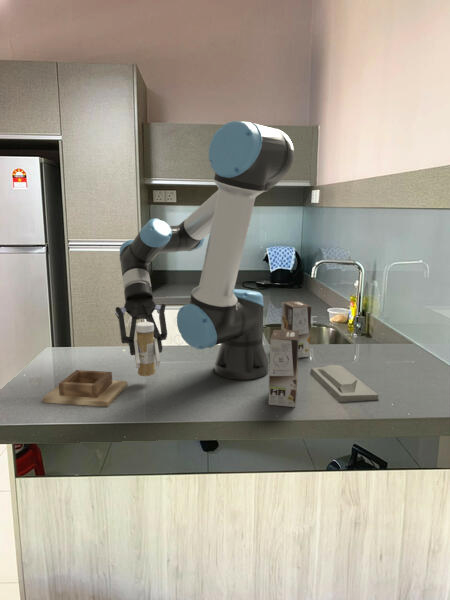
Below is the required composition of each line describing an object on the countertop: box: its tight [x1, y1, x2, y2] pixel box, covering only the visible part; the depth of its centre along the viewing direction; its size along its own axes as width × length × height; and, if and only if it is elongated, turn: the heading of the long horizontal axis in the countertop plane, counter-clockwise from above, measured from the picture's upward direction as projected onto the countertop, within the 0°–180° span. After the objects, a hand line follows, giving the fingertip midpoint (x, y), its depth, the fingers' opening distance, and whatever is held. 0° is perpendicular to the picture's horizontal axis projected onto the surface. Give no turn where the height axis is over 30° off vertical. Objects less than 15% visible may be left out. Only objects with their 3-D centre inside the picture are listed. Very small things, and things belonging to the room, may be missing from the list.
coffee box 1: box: [280, 300, 312, 359], centre depth 144 cm, size 9×6×16 cm
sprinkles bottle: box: [135, 321, 156, 377], centre depth 118 cm, size 5×5×14 cm
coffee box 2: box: [268, 329, 299, 408], centre depth 109 cm, size 9×6×16 cm
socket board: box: [42, 369, 128, 407], centre depth 113 cm, size 16×13×4 cm
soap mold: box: [309, 364, 379, 403], centre depth 119 cm, size 10×20×4 cm, turn 10°
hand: (148, 364), depth 115 cm, fingers closed on sprinkles bottle, 4 cm apart
